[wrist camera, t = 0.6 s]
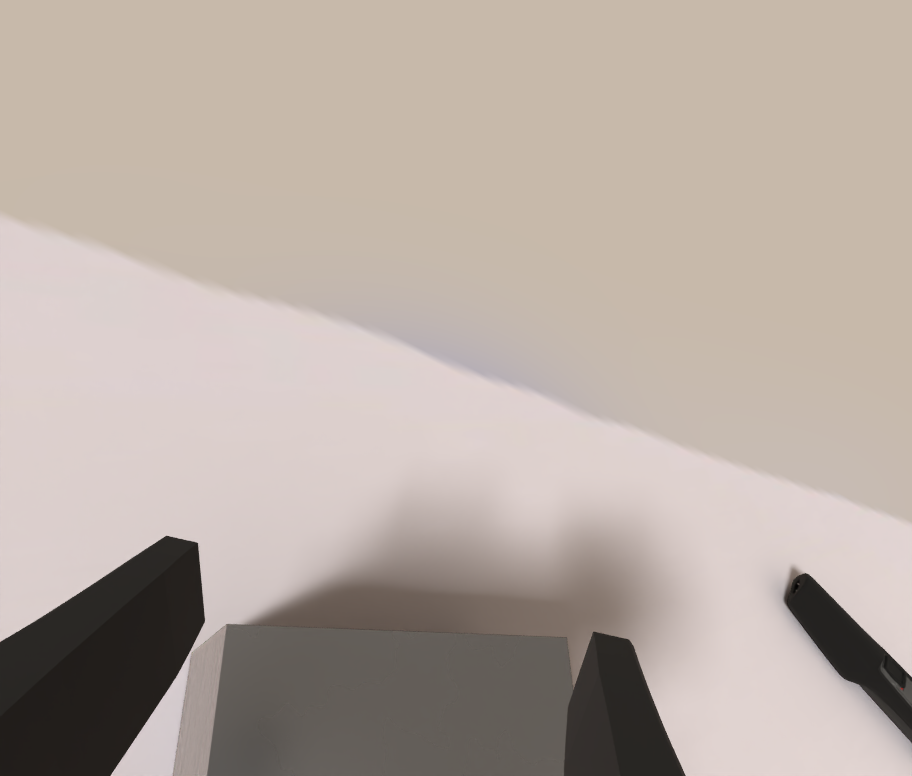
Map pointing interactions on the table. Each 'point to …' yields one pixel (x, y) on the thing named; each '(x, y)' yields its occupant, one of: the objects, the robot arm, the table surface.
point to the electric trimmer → (853, 650)
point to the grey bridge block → (374, 704)
